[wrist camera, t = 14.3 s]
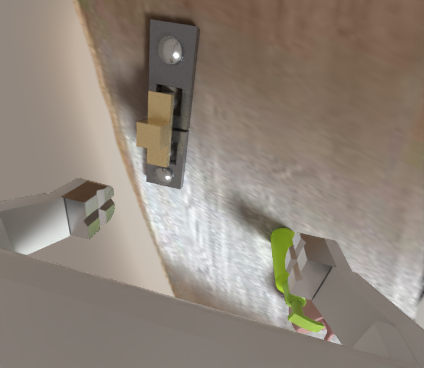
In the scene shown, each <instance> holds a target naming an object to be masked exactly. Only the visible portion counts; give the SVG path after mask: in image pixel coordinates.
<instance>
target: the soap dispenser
mask: <svg viewBox="0 0 424 368" xmlns="http://www.w3.org/2000/svg"><path fill="white" fill-rule="evenodd" d="M294 235H295V233H294V232H293V231H292V230H290V229H288V228H279V229H276V230H275V231H273V232H272V234H271V237H270V239H271V248H272V257H273V266H274V275H275V284H276V287H277V289H278V290H279V291H281V292H282V293H284V298H285V303H286V304H287V305H288V306H289V307H291V309H292V313H291V314H290V315H289V316H288V320H289V321H291V322H292V323H294V324H296V325H298V326H300V327H302V328H304V329H306V330H309V331H313V332H319V331H320V330H321V329H323V328H324V327H325V325H324V324H323V323H321V322H317V321H314V320H312V319H310V318H308V317H306V316H304V313H303V309H302V307H303V306H304V305H305V304H306V298H303V297H299V296H296V295H293V294H290V292H289V286H288V280H287V279H288V277H289V275H290V274H289V273H288V272H287V271H286V268H285V258H286V253H287V251H288V248H289V247H291V246H293V240H292V239H293V237H294Z"/></svg>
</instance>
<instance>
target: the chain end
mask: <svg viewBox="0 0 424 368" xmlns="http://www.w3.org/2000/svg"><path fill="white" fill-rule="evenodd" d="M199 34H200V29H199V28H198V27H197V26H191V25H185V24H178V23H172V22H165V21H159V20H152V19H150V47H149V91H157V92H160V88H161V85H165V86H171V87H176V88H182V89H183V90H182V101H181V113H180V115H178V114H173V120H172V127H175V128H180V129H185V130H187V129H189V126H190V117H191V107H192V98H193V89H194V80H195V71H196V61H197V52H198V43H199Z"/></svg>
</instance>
